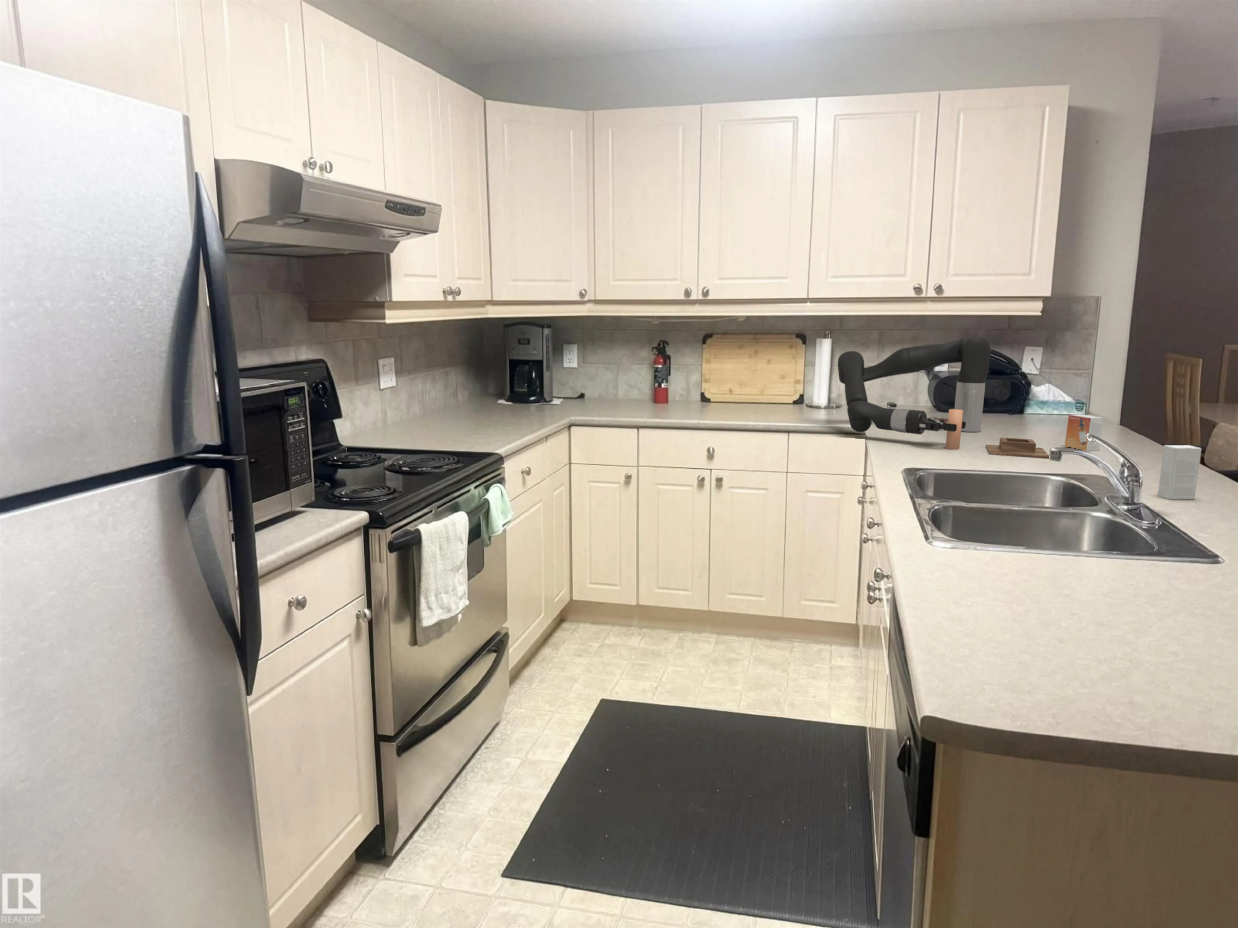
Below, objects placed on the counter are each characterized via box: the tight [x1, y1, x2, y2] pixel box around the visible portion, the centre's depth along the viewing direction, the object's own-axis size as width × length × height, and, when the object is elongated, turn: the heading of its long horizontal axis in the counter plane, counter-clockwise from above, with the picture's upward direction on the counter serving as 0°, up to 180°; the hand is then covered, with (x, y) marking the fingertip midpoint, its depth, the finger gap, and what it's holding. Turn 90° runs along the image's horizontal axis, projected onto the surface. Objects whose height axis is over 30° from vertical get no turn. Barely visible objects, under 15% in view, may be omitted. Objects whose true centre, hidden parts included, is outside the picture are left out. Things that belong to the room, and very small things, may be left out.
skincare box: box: [1157, 444, 1202, 500], centre depth 183 cm, size 6×4×12 cm
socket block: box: [985, 437, 1050, 460], centre depth 242 cm, size 16×16×4 cm
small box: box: [1064, 413, 1104, 452], centre depth 249 cm, size 8×6×10 cm
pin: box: [945, 408, 963, 451], centre depth 246 cm, size 4×4×12 cm
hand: (960, 426), depth 245 cm, fingers open, 8 cm apart
